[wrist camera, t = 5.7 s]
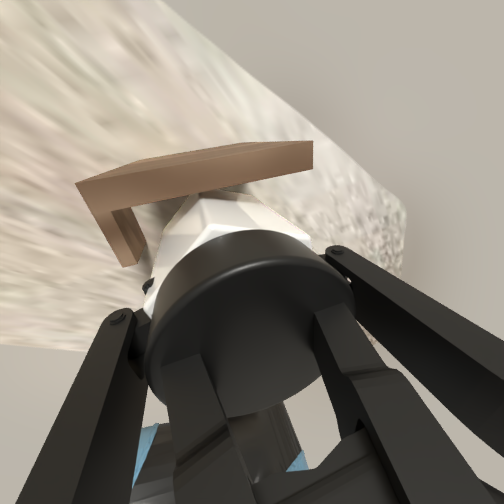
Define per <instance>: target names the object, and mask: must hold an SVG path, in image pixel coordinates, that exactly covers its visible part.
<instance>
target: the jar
mask: <svg viewBox="0 0 504 504" xmlns="http://www.w3.org/2000/svg"><path fill="white" fill-rule="evenodd" d="M153 277H155V278H154V282H153V285H152V286H151V288H150V287H149V289H148V291H147V294H146V297H145V300H144V304H143V310H144V312H145V313H146V314H147V315H148V316H149V317H150V319H151V324H150V329H149V334H148V339H147V344H146V350H145V355H144V371H145V376H146V380H147V382H148V385H149V387H150V388H151V390H152V392H153V393H154V394H155V396H156V397H157V398H158V399H159V400H160V401H161V402H162V403H163V404H165V405H166V399H165V393H164V387H163V381H162V375H161V369H160V367H163V366H165V365H168V364H171V363H174V362H177V361H180V360H182V359H185V358H188V357H191V356H194V355H197V354H199V353H200V355H201V357H202V359H203V362H204V364H205V366H206V369H207V371H208V373H209V375H210V378H211V380H212V382H213V384H214V387H215V389H216V391H217V394H218V396H219V399H220V401H221V404H222V406H223V409H224V411H225V414H226V417H227V418H228V417H236V416H241V415H246V414H250V413H253V412H257V411H260V410H263V409H266V408H268V407H271V406H273V405H275V404H278V403H280V402H282V401H284V400H286V399H288V398H289V397H291V396H293V395H295V394H296V393H298V392H300V391H301V390H302V389H304V388H306V387H307V386H308V385H310V384H311V383H312V382H314V381H315V380H316V379H317V378H318V377H320V376H321V373H320V370H319V367H318V364H317V362H316V359H315V356H314V313H315V312H318V311H321V310H323V309H326V308H329V307H332V306H335V305H337V304H340V303H343V302H344V303H345V305H346V306H347V308H348V309H349V311H350V312H351V314H352V315H353V317H354V318H355V315H356V306H355V299H354V295H353V292H352V290H351V288H350V285H349V284H348V282H347V281H346V280H345V278H344V277H343V276H342V275H341V274H340V273H339V272H338V271H337V270H336V269H334V268H333V267H332V266H331V265H329V264H328V263H327V262H326V261H324V260H323V259H322V258H321V257H319V256H318V255H317V254H316V253H315V252H313V248H312V242H311V237H310V236H309V235H308V234H306V233H305V232H303V231H302V230H301V229H299V228H298V227H296V226H295V225H293V224H292V223H291V222H289V221H288V220H286V219H285V218H284V217H282V216H281V215H279V214H278V213H276V212H275V211H274V210H272V209H271V208H269V207H268V206H267V205H265V204H264V203H262V202H261V201H259V200H258V199H257V198H255V197H254V196H252V195H248V194H243V193H237V192H231V191H226V190H220V189H215V190H210V191H205V192H200V193H195V194H191V195H189V197H188V198H187V199H186V201H185V202H184V203H183V204H182V206H181V207H180V208H179V210H178V211H177V212H176V214H175V215H174V216H173V218H172V219H171V220H170V222H169V223H168V224H167V226H166V227H165V228H164V229H163V232H162V236H161V240H160V244H159V247H158V251H157V255H156V259H155V263H154V266H153V270H152V274H151V278H153ZM151 278H150V279H151ZM151 315H152V316H151ZM166 406H167V405H166Z"/></svg>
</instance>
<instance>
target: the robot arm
mask: <svg viewBox="0 0 504 504" xmlns="http://www.w3.org/2000/svg"><path fill="white" fill-rule="evenodd" d="M318 256H319V257H321V258H322V259H323V260H324V261H326V262H327V263H328V264H329V265H331V266H332V267H333V268H334V269H336V270H337V271H338V272H339V273H340V274H341V275H342V276H343V277H344V278H345V280H346V281H347V282H348V284H349V285H350V288H351V290H352V292H353V295H354V299H355V306H356V315H355V318H354V317H353V315H352V314H351V312H350V311H349V309H348V308H347V306H346V305H345V303H344V302H343V303H340V304H337V305H335V306H332V307H329V308H326V309H323V310H321V311H318V312H315V313H314V356H315V359H316V362H317V364H318V367H319V370H320V373H321V375H322V378H323V381H324V384H325V386H326V389H327V392H328V395H329V398H330V400H331V403H332V406H333V409H334V412H335V414H336V418H337V423H338V429H339V433H340V437H341V441H340V442H339V444H338V445H337V446H336V447H335V448H334V449H333V451H332V452H331V453H330V454H329V455H328V456H327V457H326V458H325V459H324V461H323V462H322V463H321V464H320V465H319V466H318V467H317V468H315V469H310V470H309V469H308V465H307V462H306V459H305V456H304V451H303V450H302V449H301V446H300V444H299V441H298V439H297V436H296V434H295V431H294V428H293V426H292V423H291V421H290V418H289V416H288V413H287V410H286V408H285V405H284V403H283V401H282V402H280V403H278V404H275V405H273V406H271V407H268V408H266V409H263V410H260V411H257V412H253V413H250V414H246V415H241V416H236V417H228V418H227V417H226V414H225V411H224V409H223V406H222V404H221V401H220V399H219V396H218V394H217V391H216V389H215V387H214V384H213V382H212V380H211V378H210V375H209V373H208V371H207V369H206V366H205V364H204V362H203V359H202V357H201V355H200V353H199V354H197V355H194V356H191V357H188V358H185V359H182V360H180V361H177V362H174V363H171V364H168V365H165V366H163V367H160V369H161V375H162V381H163V387H164V393H165V399H166V405H167V410H168V416H169V422H170V423H164V424H159V423H155V424H154V425H153V426H149V427H145V428H142V421H143V415H144V408H145V402H146V396H147V390H148V382H147V380H146V376H145V371H144V355H145V350H146V344H147V339H148V334H149V329H150V324H151V319H150V317H149V316H148V315H147V314H146V313H145V312H144V310H143V308H141V309H139V310H137V311H135V312H133V311H132V310H131V309H130V308H123V309H119V310H117V311H115V312H113V313H111V314H110V315H109V316H108V317H106V318H105V319H104V321H103V322H102V324H101V326H100V328H99V330H98V332H97V334H96V336H95V338H94V341H93V343H92V345H91V347H90V349H89V351H88V353H87V355H86V357H85V360H84V361H83V364H82V366H81V368H80V370H79V372H78V374H77V376H76V378H75V381H74V383H73V384H72V387H71V389H70V391H69V393H68V395H67V397H66V399H65V401H64V403H63V405H62V407H61V409H60V412H59V414H58V416H57V418H56V420H55V422H54V424H53V426H52V428H51V430H50V432H49V435H48V437H47V439H46V441H45V443H44V445H43V447H42V449H41V451H40V453H39V455H38V457H37V460H36V462H35V464H34V466H33V468H32V470H31V472H30V474H29V476H28V478H27V480H26V483H25V485H24V487H23V489H22V491H21V493H20V495H19V497H18V499H17V501H16V503H15V504H504V493H502V492H501V491H499V490H497V489H496V488H494V487H492V486H490V485H489V484H487V483H485V482H484V481H482V480H480V479H479V478H478V477H477V476H476V474H475V473H474V472H473V470H472V469H471V467H470V466H469V465H468V464H467V462H466V461H465V459H464V458H463V456H462V455H461V453H460V452H459V451H458V449H457V448H456V447H455V445H454V444H453V442H452V441H451V440H450V438H449V437H448V435H447V434H446V432H445V431H444V430H443V428H442V427H441V425H440V424H439V423H438V421H437V420H436V418H435V417H434V416H433V414H432V413H431V411H430V410H429V409H428V407H427V406H426V405H425V403H424V402H423V400H422V399H421V397H420V396H419V395H418V393H417V392H416V390H415V389H414V388H413V386H412V385H411V383H410V382H409V381H408V379H407V378H406V377H405V376H404V375H403V374H402V373H401V372H400V371H398V370H397V369H392V368H388V367H387V366H386V364H385V363H384V362H383V360H382V359H381V357H380V356H379V354H378V353H377V351H376V350H375V348H374V347H373V345H372V344H371V342H370V341H369V339H368V338H367V336H366V335H365V333H364V332H363V330H362V329H361V327H360V326H359V324H358V323H357V321H358V322H359V323H360V324H361V325H362V326H363V327H364V328H365V329H366V330H367V331H368V332H369V333H370V334H371V335H372V336H373V337H374V338H375V339H376V340H377V341H378V342H379V343H380V344H382V345H383V346H384V347H385V348H386V349H387V350H388V351H389V352H390V353H391V354H392V355H393V356H394V357H395V358H396V359H397V360H398V361H399V362H400V363H401V364H402V365H403V366H404V367H405V368H406V369H407V370H408V371H409V372H410V373H411V374H412V375H413V376H414V377H415V378H416V379H418V380H419V382H421V383H422V384H423V385H424V386H425V387H426V388H427V389H428V390H429V391H430V392H431V393H432V394H433V395H434V396H435V397H436V398H437V399H438V400H439V401H440V402H441V403H442V404H443V405H444V406H445V407H446V408H447V409H448V410H449V411H450V412H451V413H452V414H453V415H454V416H456V417H457V418H458V419H459V420H460V421H461V422H462V423H463V424H464V425H465V426H466V427H468V428H469V429H470V430H471V431H472V432H473V433H474V434H475V435H476V436H478V437H479V438H480V439H481V440H482V441H484V442H485V443H486V444H487V445H488V446H490V447H491V448H492V449H494V450H495V451H496V452H497V453H499V454H500V455H501V456H502V457H504V341H503V340H501V339H499V338H497V337H496V336H494V335H493V334H491V333H489V332H488V331H486V330H484V329H483V328H481V327H479V326H477V325H476V324H474V323H473V322H471V321H469V320H467V319H466V318H464V317H462V316H460V315H459V314H457V313H456V312H454V311H452V310H451V309H449V308H447V307H445V306H444V305H442V304H441V303H439V302H437V301H435V300H434V299H432V298H431V297H429V296H427V295H426V294H424V293H422V292H420V291H419V290H417V289H415V288H414V287H412V286H410V285H409V284H407V283H405V282H404V281H402V280H400V279H399V278H397V277H395V276H394V275H392V274H390V273H389V272H387V271H385V270H384V269H382V268H380V267H379V266H377V265H375V264H373V263H372V262H370V261H368V260H367V259H365V258H363V257H362V256H360V255H358V254H357V253H355V252H353V251H352V250H350V249H348V248H346V247H344V246H340V245H337V246H336V245H334V246H330V247H328V248H326V250H325V254H322V255H318ZM154 278H155V277H153V278H151V279H149V280H148V281H147V282H145V284H144V285H143V287H142V289H143V291H144V293H145V295H146V294H147V291H148V289H149V287H150V288H151V286H152V285H153V282H154ZM347 278H349V279H350V280H351V282H349V281H348V280H347ZM151 316H152V315H151ZM355 319H356V320H357V321H356V320H355Z"/></svg>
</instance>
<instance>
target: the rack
mask: <svg viewBox="0 0 504 504" xmlns="http://www.w3.org/2000/svg"><path fill="white" fill-rule="evenodd" d="M311 169H313V141H283V142H248V143H238V144H232V145H226V146H220V147H214V148H208V149H202V150H196V151H190V152H184V153H178V154H172V155H167V156H161V157H155V158H149V159H143V160H139V161H136V162H133V163H130V164H127V165H125V166H122V167H119V168H116V169H113V170H111V171H108V172H105V173H102V174H99V175H97V176H94V177H91V178H88V179H85V180H83V181H80V182H77V183H75V185H76V187H77V188H78V190H79V192H80V194H81V195H82V197H83V199H84V201H85V202H86V204H87V206H88V208H89V210H90V211H91V213H92V215H93V216H94V218H95V220H96V221H97V223H98V225H99V227H100V229H101V230H102V232H103V234H104V236H105V237H106V239H107V241H108V243H109V244H110V246H111V248H112V250H113V252H114V253H115V255H116V257H117V259H118V260H119V262H120V264H121V266H122V267H127V266H131V265H135V264H138V261H139V259H140V256H141V253H142V251H143V248H144V246H145V243H146V240H145V237H144V235H143V233H142V231H141V229H140V226H139V224H138V222H137V220H136V218H135V216H134V213H133V211H132V209H131V207H133V206H138V205H143V204H147V203H152V202H157V201H162V200H167V199H171V198H176V197H181V196H186V195H191V194H195V193H200V192H205V191H210V190H215V189H220V188H224V187H229V186H234V185H239V184H244V183H248V182H253V181H258V180H263V179H268V178H273V177H277V176H282V175H287V174H292V173H297V172H301V171H306V170H311Z"/></svg>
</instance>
